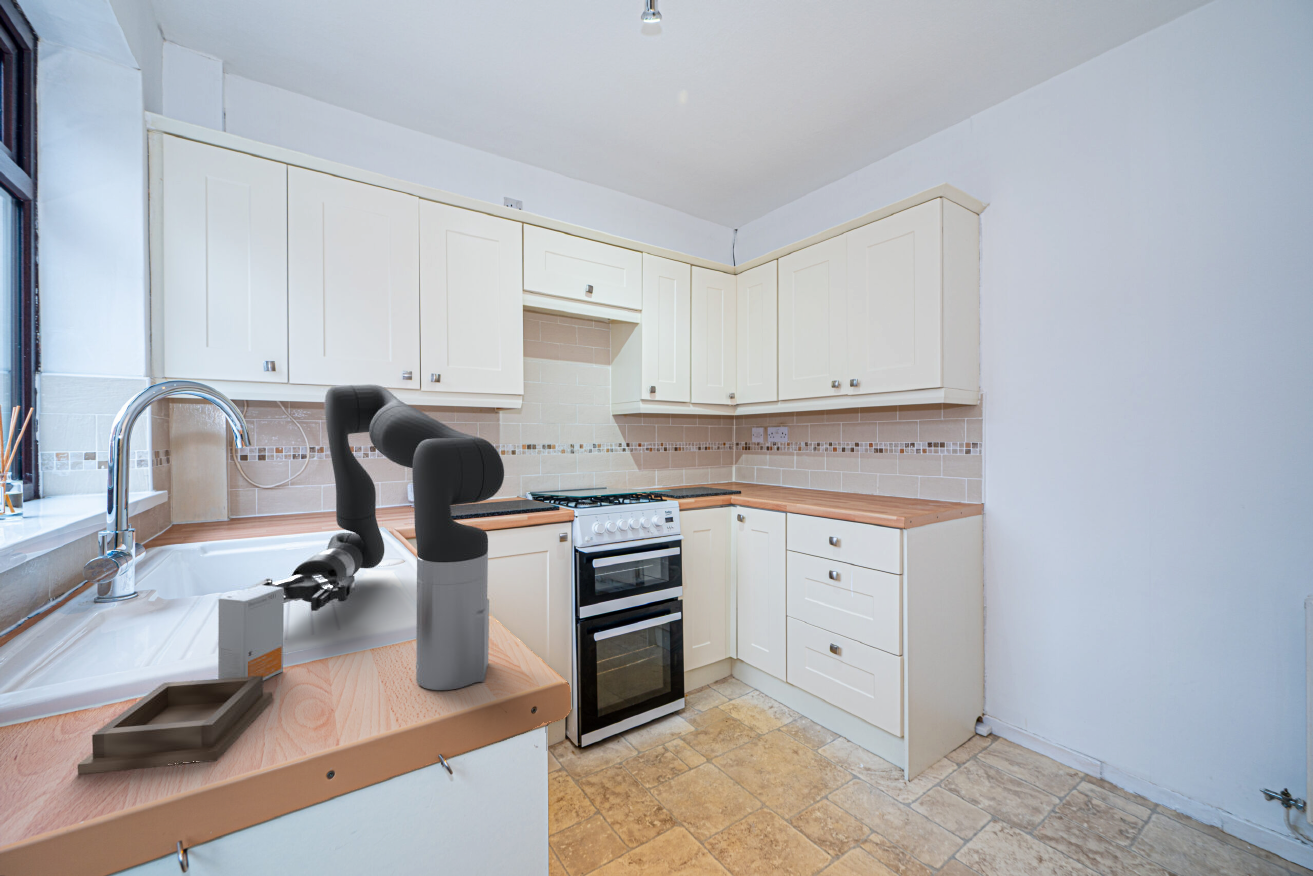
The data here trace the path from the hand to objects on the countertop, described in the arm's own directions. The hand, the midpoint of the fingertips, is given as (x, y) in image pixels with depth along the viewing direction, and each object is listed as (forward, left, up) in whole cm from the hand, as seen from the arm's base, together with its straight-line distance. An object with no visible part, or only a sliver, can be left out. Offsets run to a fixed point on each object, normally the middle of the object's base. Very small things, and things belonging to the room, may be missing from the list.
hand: (282, 606), depth 80 cm
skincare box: (0, +8, -7) cm, 11 cm away
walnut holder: (+1, +20, -7) cm, 22 cm away
